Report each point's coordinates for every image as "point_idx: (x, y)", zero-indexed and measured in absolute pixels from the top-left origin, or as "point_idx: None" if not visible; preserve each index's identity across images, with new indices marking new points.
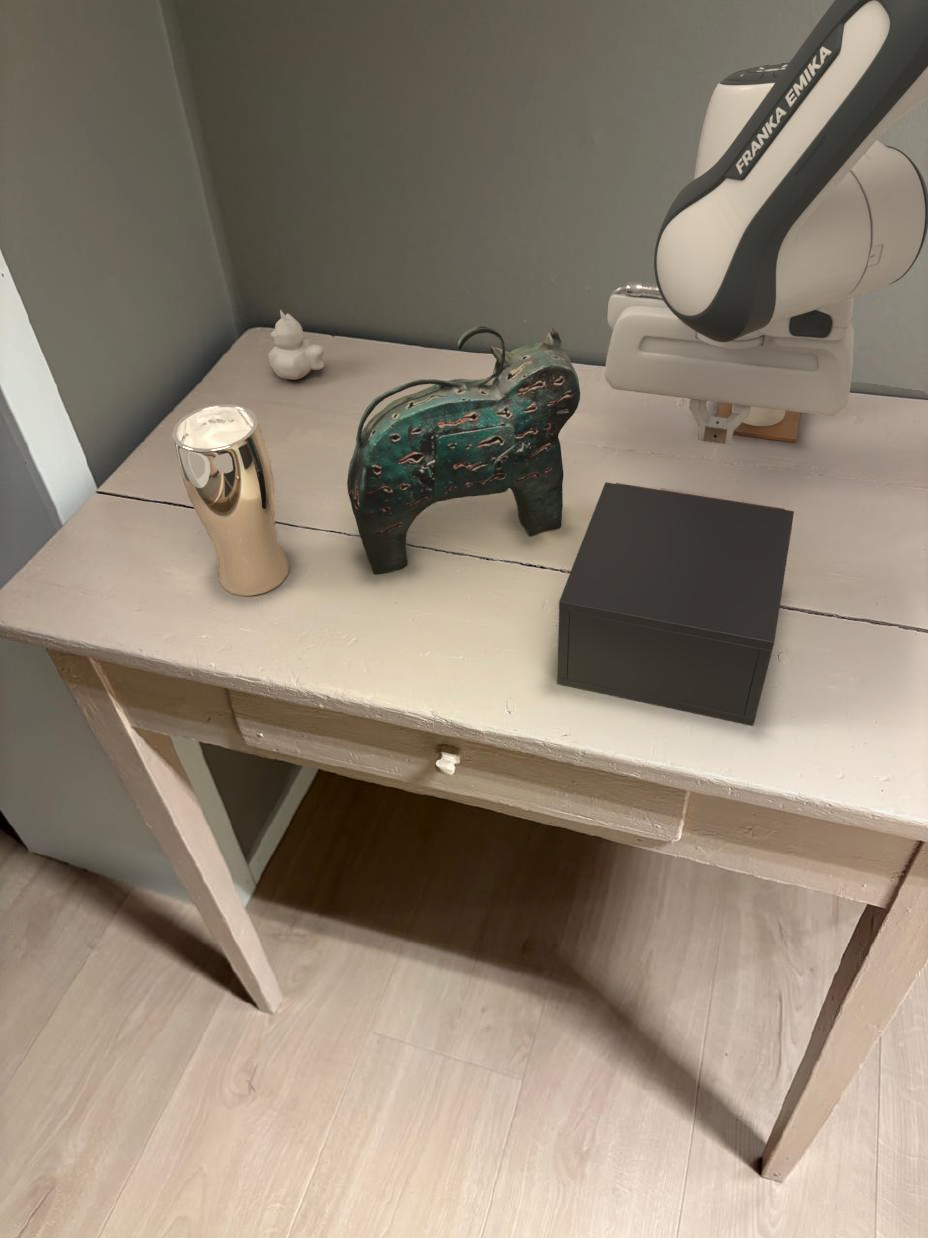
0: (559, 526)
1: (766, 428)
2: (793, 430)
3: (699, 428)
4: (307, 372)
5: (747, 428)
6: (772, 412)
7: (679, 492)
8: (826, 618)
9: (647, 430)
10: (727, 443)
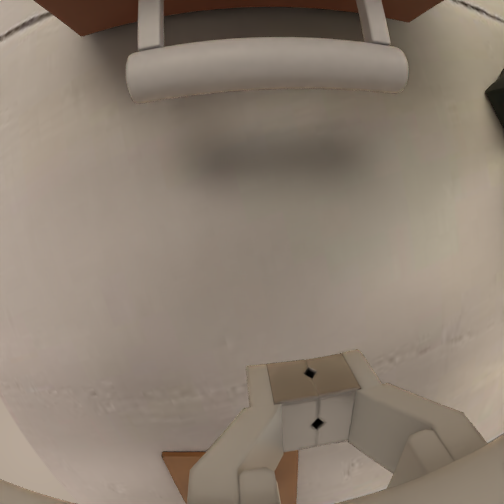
0: (488, 89)
1: None
2: (174, 470)
3: (376, 375)
4: None
5: None
6: None
7: (353, 56)
8: (12, 25)
9: None
10: (257, 365)
